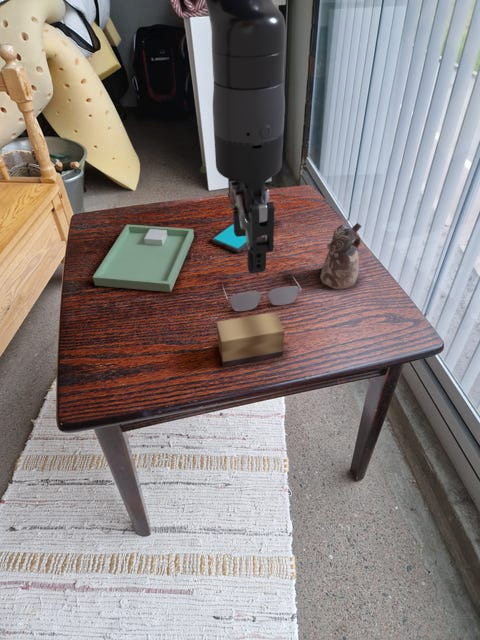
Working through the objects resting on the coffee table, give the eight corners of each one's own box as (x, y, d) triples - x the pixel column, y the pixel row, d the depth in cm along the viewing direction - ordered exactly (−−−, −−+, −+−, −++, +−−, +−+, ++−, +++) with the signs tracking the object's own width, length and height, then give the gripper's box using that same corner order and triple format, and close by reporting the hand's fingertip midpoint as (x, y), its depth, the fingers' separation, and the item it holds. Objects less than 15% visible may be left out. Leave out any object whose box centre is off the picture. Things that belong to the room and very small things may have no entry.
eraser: (223, 366, 68) (221, 341, 64) (218, 346, 71) (216, 321, 67) (282, 356, 69) (284, 330, 65) (275, 337, 73) (276, 311, 68)
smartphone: (211, 238, 93) (250, 210, 102) (211, 242, 94) (250, 213, 102) (238, 250, 90) (276, 219, 99) (238, 253, 91) (275, 222, 99)
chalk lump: (145, 244, 93) (143, 238, 92) (150, 234, 96) (149, 228, 95) (162, 245, 92) (161, 239, 91) (167, 235, 95) (166, 230, 94)
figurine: (315, 269, 86) (322, 217, 78) (348, 265, 87) (358, 213, 79) (327, 291, 81) (336, 238, 73) (362, 286, 82) (374, 233, 74)
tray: (95, 285, 84) (92, 277, 82) (128, 232, 97) (126, 224, 96) (170, 292, 82) (169, 283, 80) (194, 237, 96) (193, 229, 94)
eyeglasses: (228, 313, 77) (226, 295, 75) (220, 288, 83) (219, 271, 81) (300, 302, 79) (302, 284, 76) (288, 279, 85) (289, 262, 82)
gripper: (204, 108, 50) (212, 228, 61) (227, 156, 39) (232, 289, 51) (265, 102, 51) (262, 221, 62) (303, 148, 41) (291, 280, 52)
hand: (248, 252), depth 56 cm, fingers open, 8 cm apart
